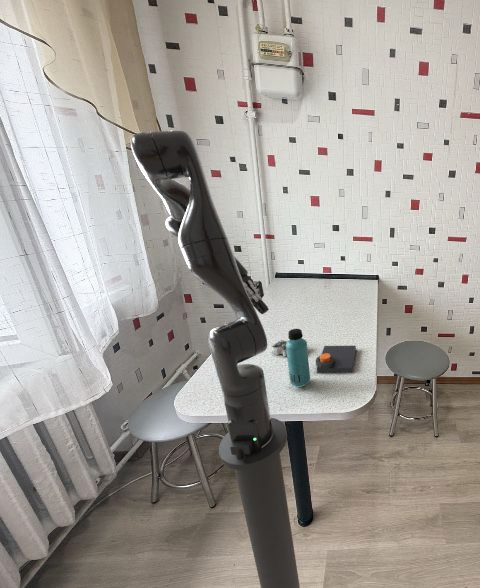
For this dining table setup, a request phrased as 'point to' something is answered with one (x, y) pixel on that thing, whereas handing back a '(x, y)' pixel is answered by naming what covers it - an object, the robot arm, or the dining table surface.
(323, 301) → the dining table surface
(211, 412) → the dining table surface
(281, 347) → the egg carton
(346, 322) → the dining table surface
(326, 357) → the button
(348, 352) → the scale
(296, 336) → the beverage bottle
